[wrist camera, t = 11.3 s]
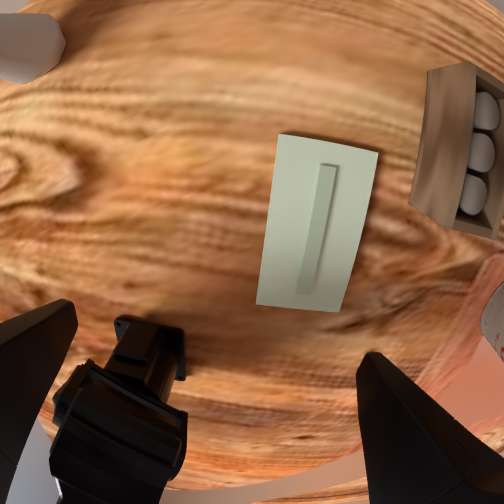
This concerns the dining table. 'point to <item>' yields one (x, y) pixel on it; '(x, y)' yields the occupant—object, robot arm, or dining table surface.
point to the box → (462, 151)
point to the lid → (314, 223)
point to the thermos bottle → (495, 321)
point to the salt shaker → (29, 46)
